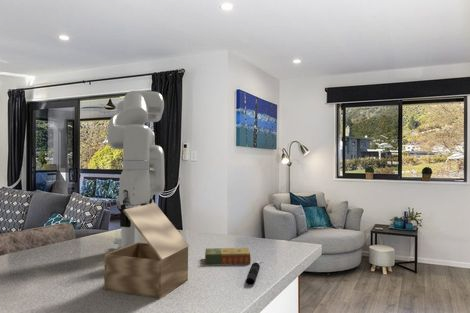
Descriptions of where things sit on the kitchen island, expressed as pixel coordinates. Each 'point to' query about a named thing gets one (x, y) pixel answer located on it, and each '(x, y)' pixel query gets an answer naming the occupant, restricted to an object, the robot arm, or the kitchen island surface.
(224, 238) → the kitchen island surface
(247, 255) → the carton
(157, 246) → the lid flap
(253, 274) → the black handled hook tool
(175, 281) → the wooden box
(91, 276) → the kitchen island surface
